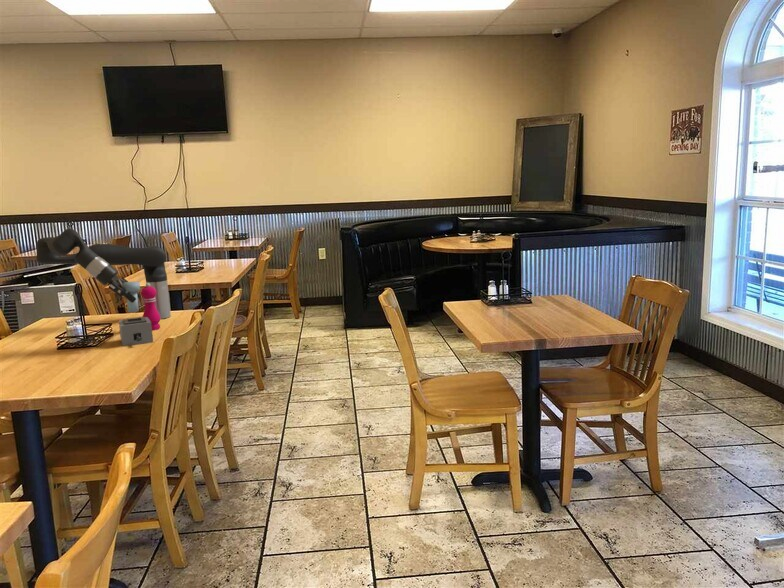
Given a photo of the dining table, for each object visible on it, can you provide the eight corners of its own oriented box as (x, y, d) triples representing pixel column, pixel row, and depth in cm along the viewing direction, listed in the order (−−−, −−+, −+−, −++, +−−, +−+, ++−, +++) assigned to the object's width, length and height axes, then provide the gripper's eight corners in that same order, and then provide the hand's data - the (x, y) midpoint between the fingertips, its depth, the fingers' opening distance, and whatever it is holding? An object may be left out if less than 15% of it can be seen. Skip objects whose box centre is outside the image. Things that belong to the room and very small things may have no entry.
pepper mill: (164, 326, 273) (159, 281, 270) (156, 331, 266) (151, 284, 262) (148, 326, 274) (143, 281, 270) (140, 331, 267) (135, 284, 263)
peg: (123, 310, 250) (121, 282, 248) (141, 308, 253) (138, 281, 251) (125, 313, 244) (122, 284, 242) (142, 311, 247) (140, 283, 245)
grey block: (120, 339, 253) (118, 319, 252) (149, 336, 258) (147, 315, 256) (123, 346, 244) (120, 324, 242) (153, 342, 249) (150, 320, 247)
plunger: (134, 337, 249) (133, 332, 248) (139, 336, 250) (138, 331, 249) (136, 342, 241) (135, 337, 241) (141, 341, 242) (141, 336, 242)
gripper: (101, 274, 251) (135, 302, 255) (89, 280, 237) (125, 310, 241) (113, 261, 251) (147, 289, 255) (102, 266, 237) (138, 295, 241)
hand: (136, 299), depth 248 cm, fingers closed on peg, 6 cm apart
